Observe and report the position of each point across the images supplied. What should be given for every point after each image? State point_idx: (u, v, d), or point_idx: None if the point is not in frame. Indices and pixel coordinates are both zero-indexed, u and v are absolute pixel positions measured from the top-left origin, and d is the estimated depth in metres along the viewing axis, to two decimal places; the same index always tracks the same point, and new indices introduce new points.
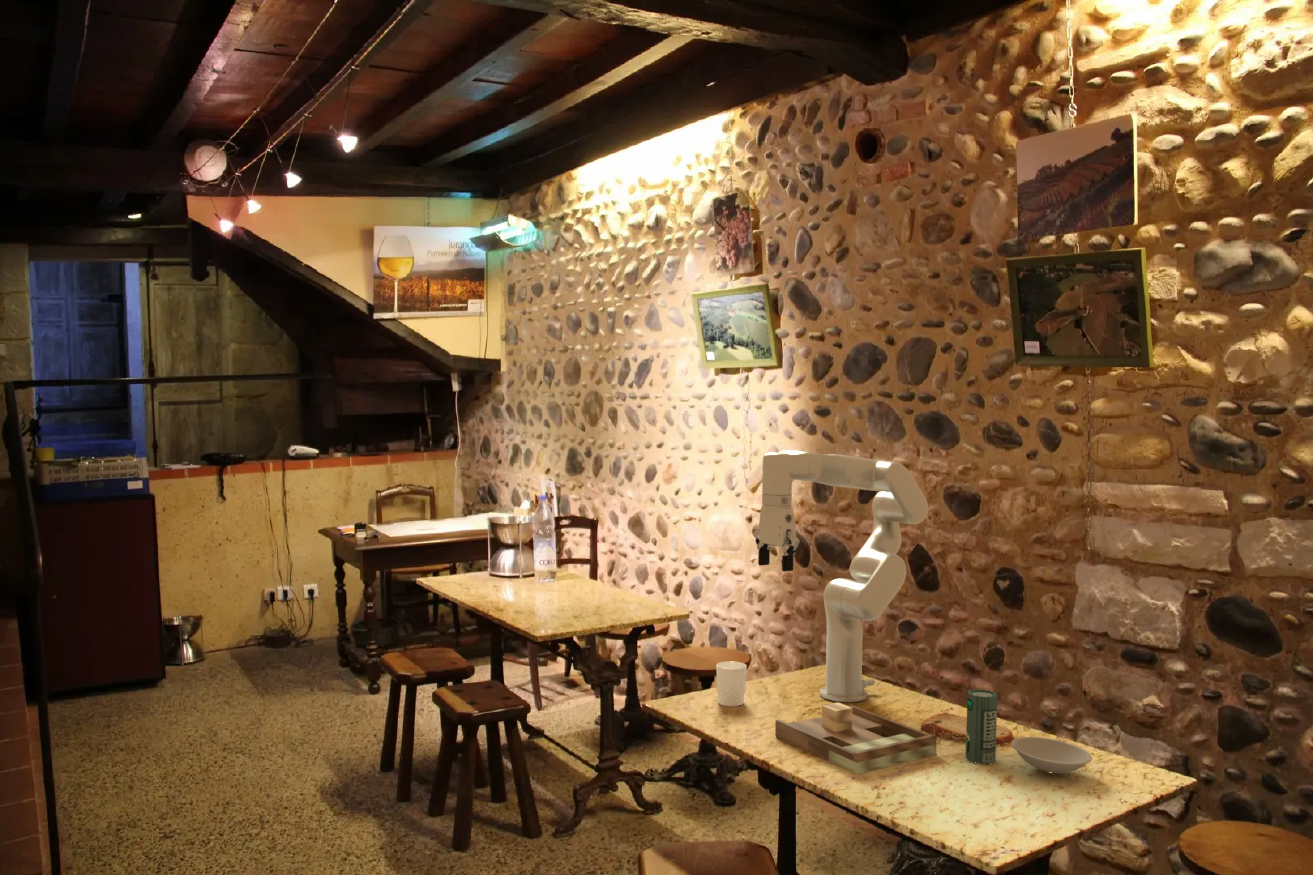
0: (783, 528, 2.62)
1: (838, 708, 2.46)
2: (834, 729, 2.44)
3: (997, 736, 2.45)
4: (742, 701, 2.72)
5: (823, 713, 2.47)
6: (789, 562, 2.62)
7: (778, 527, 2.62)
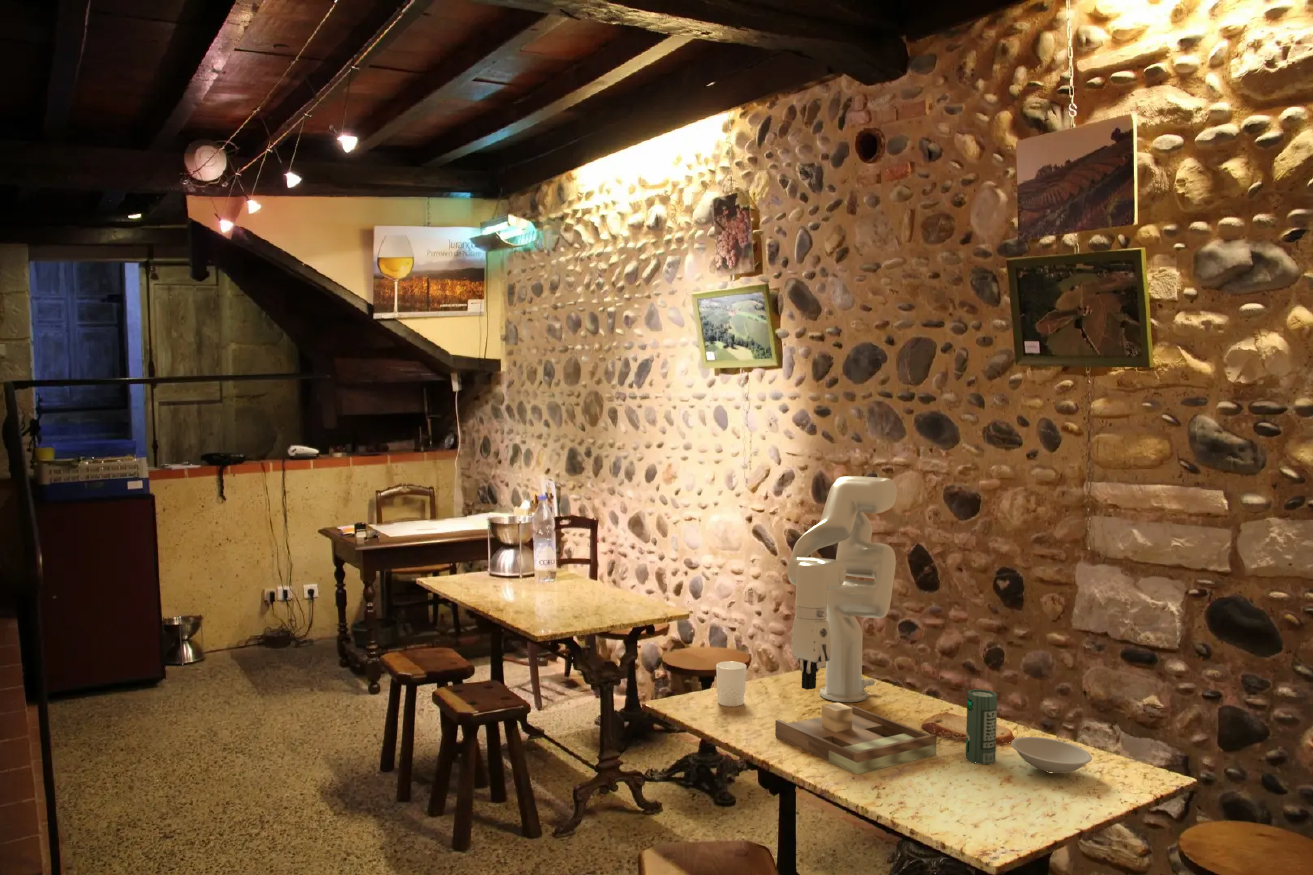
0: (818, 643, 2.49)
1: (838, 708, 2.46)
2: (834, 729, 2.44)
3: (997, 736, 2.45)
4: (742, 701, 2.72)
5: (823, 713, 2.47)
6: (812, 680, 2.53)
7: (813, 642, 2.50)
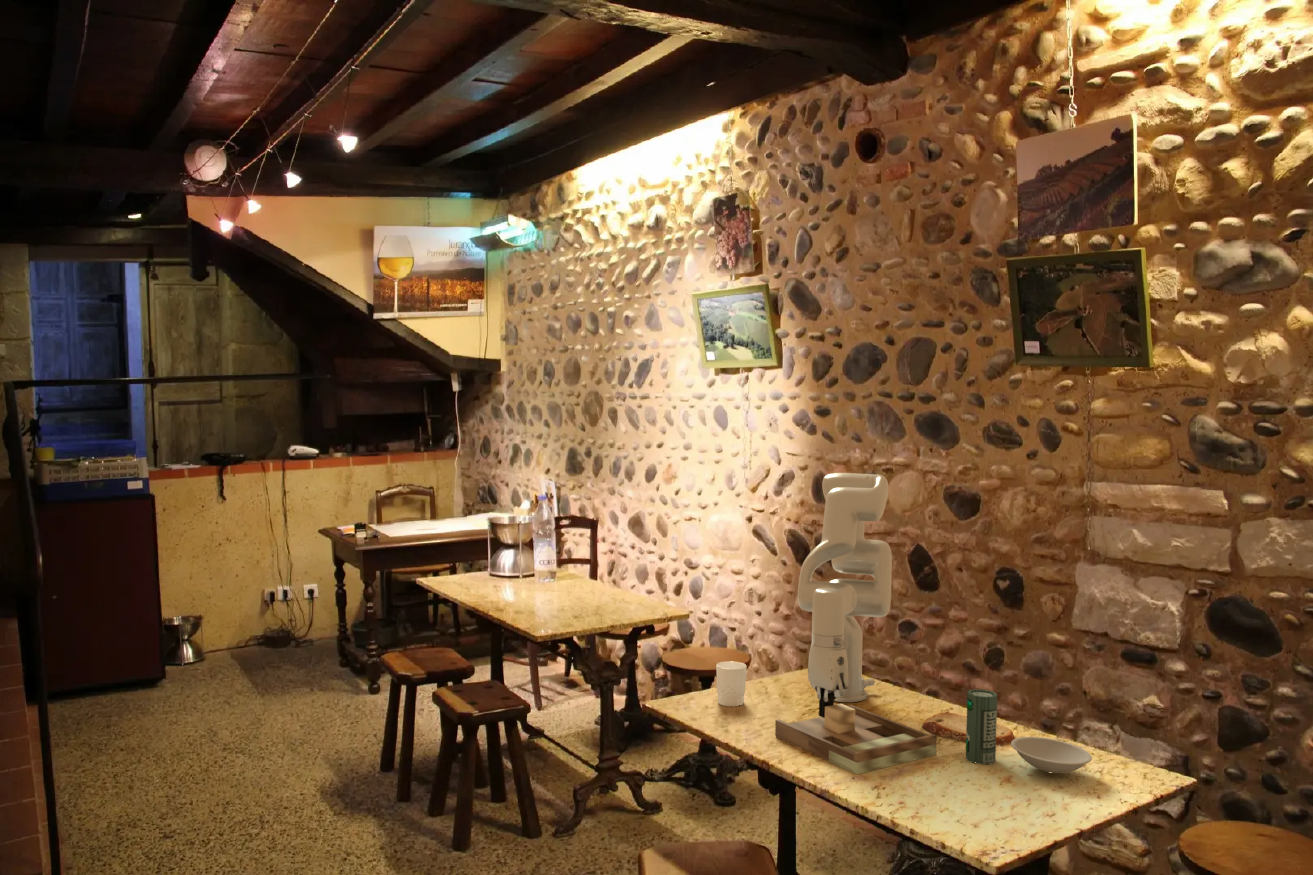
0: (835, 672, 2.45)
1: (841, 709, 2.45)
2: (837, 730, 2.43)
3: (997, 736, 2.45)
4: (742, 701, 2.72)
5: (826, 714, 2.46)
6: None
7: (830, 670, 2.45)
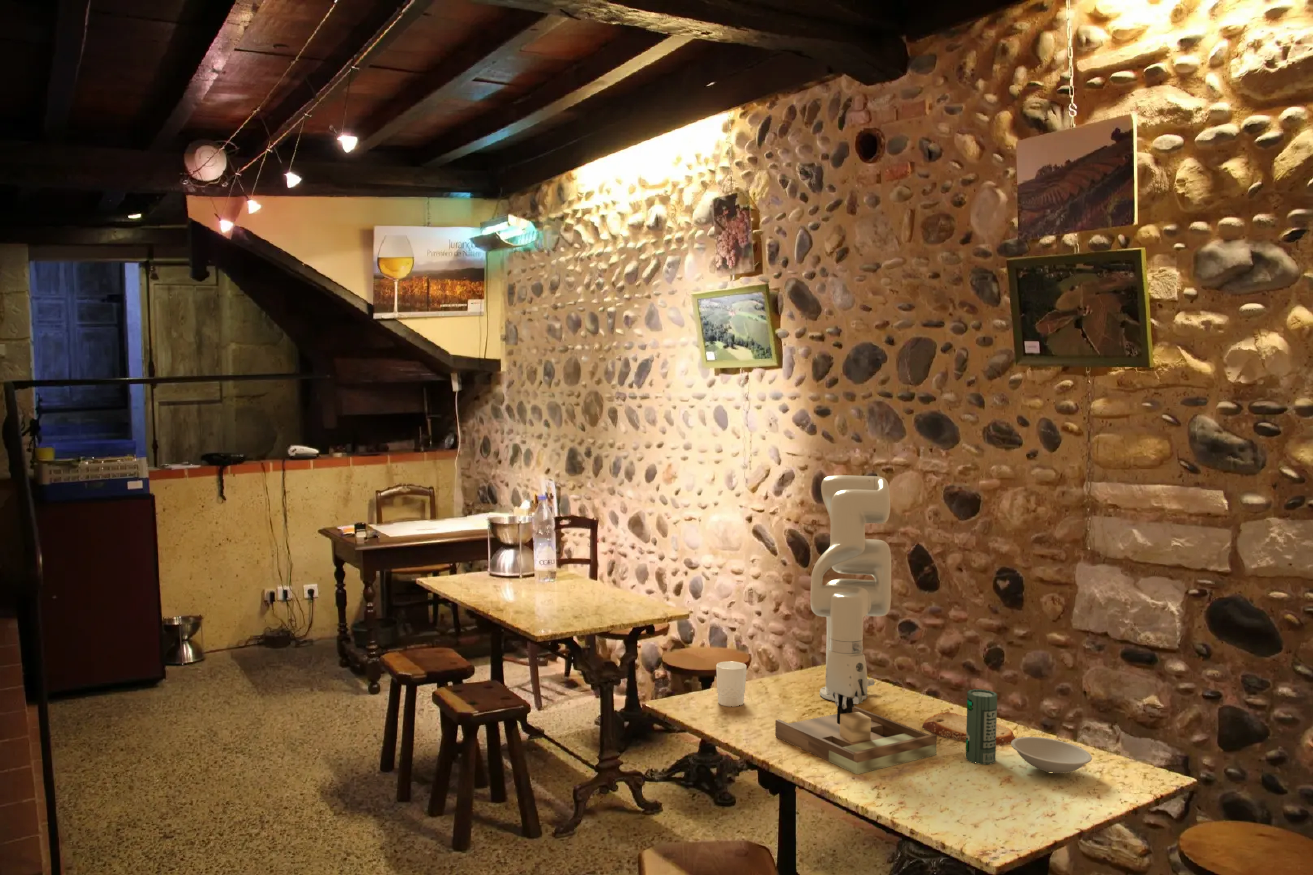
0: (854, 678, 2.39)
1: (856, 717, 2.39)
2: (850, 739, 2.37)
3: (997, 736, 2.45)
4: (742, 701, 2.72)
5: (841, 722, 2.41)
6: None
7: (848, 677, 2.40)
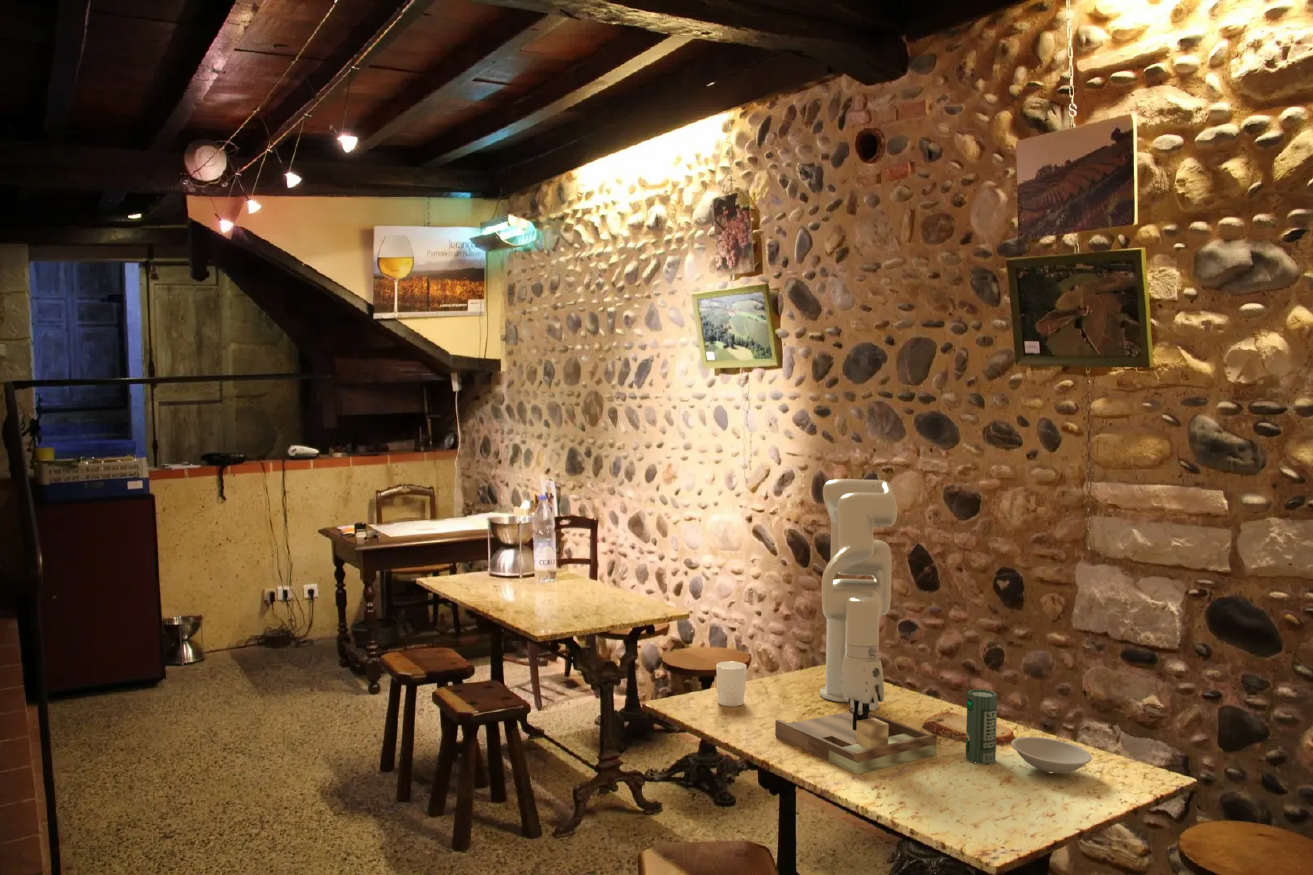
0: (870, 684, 2.35)
1: (873, 724, 2.34)
2: (869, 746, 2.33)
3: (997, 735, 2.45)
4: (742, 701, 2.72)
5: (858, 729, 2.36)
6: None
7: (865, 682, 2.35)
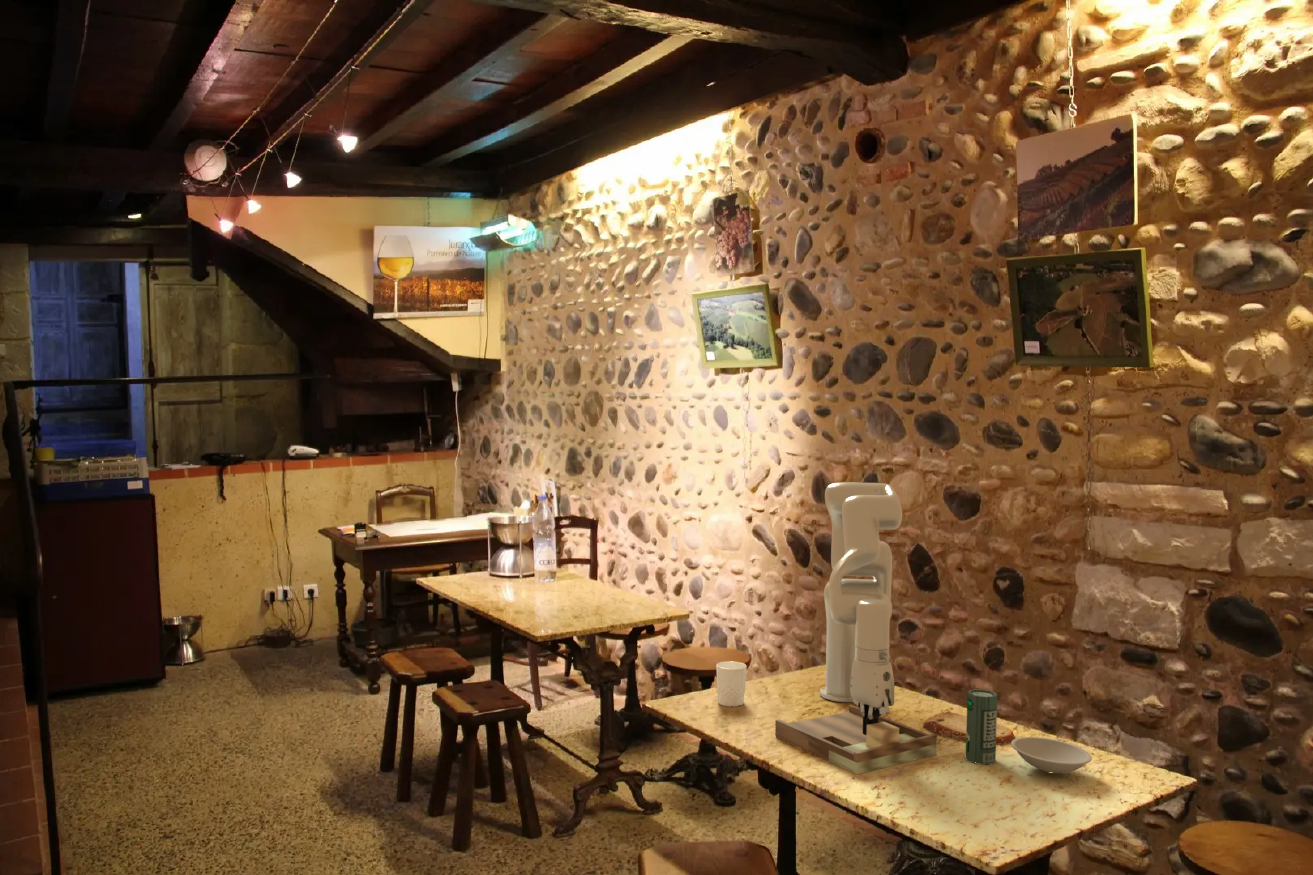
0: (881, 688, 2.32)
1: (884, 728, 2.31)
2: None
3: (997, 736, 2.46)
4: (742, 701, 2.72)
5: (868, 733, 2.33)
6: None
7: (875, 686, 2.33)
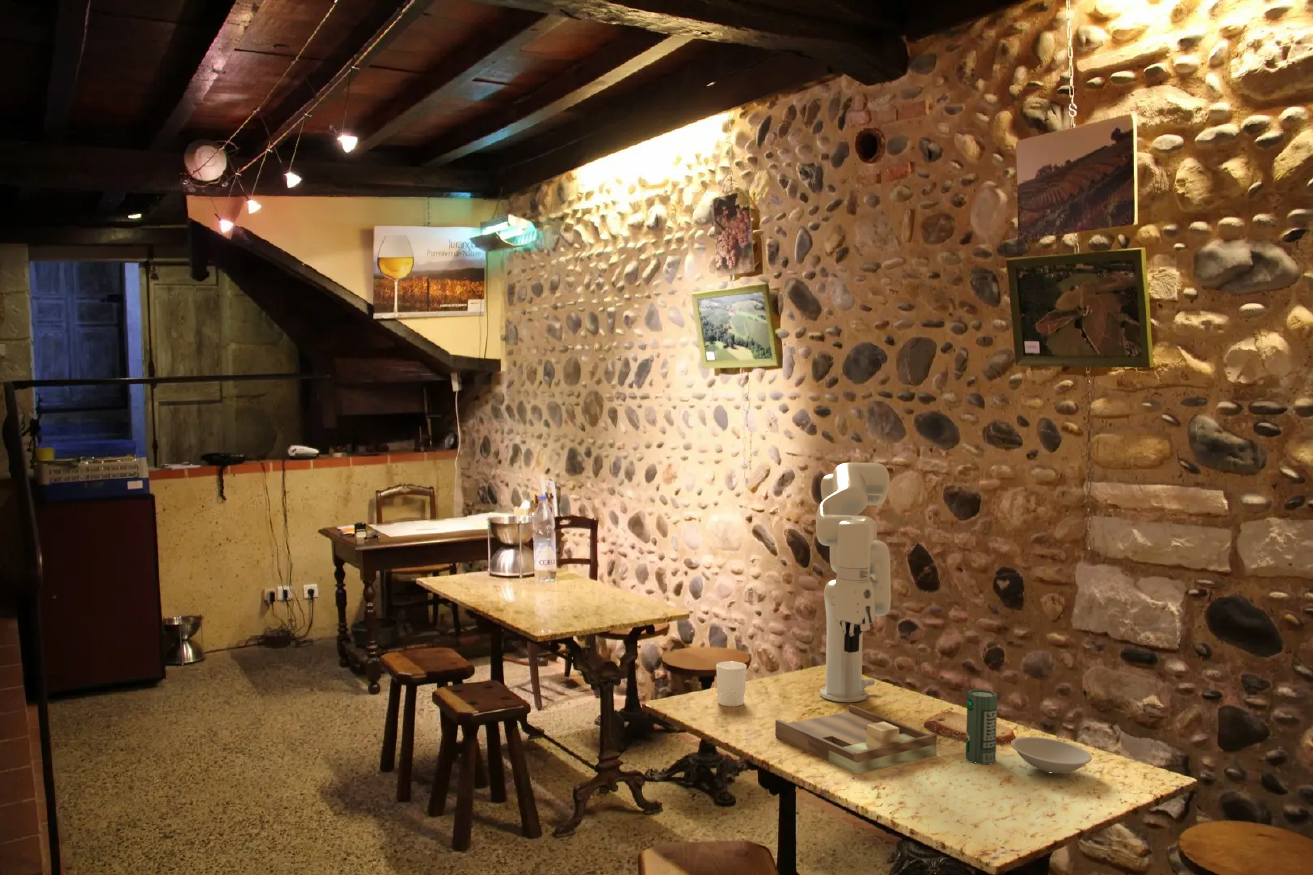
0: (862, 605, 2.39)
1: (884, 728, 2.31)
2: None
3: (997, 735, 2.46)
4: (742, 701, 2.72)
5: (868, 733, 2.33)
6: (855, 643, 2.43)
7: (856, 604, 2.39)
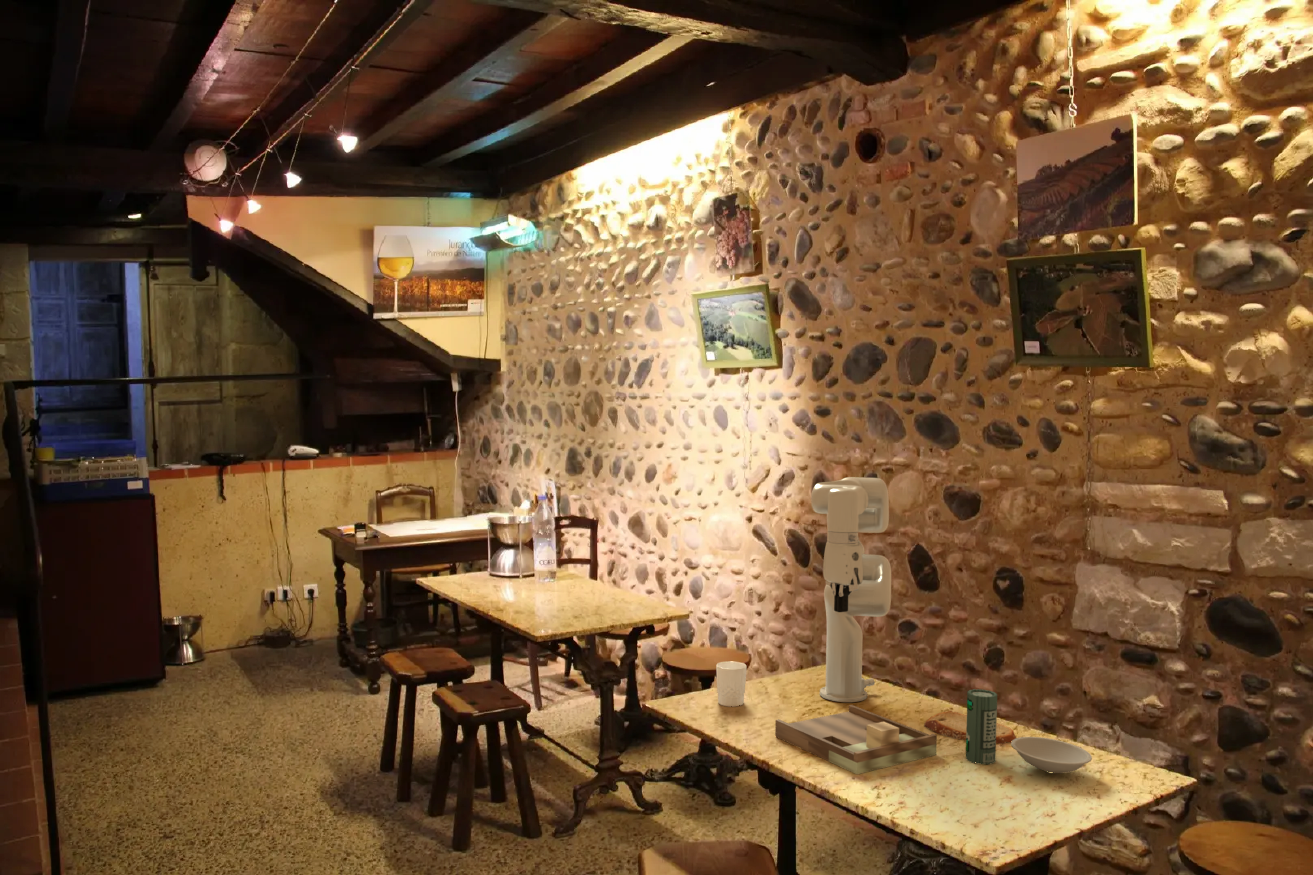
0: (850, 566, 2.55)
1: (884, 728, 2.31)
2: None
3: (997, 735, 2.46)
4: (742, 701, 2.72)
5: (868, 733, 2.33)
6: (844, 603, 2.59)
7: (845, 565, 2.56)
